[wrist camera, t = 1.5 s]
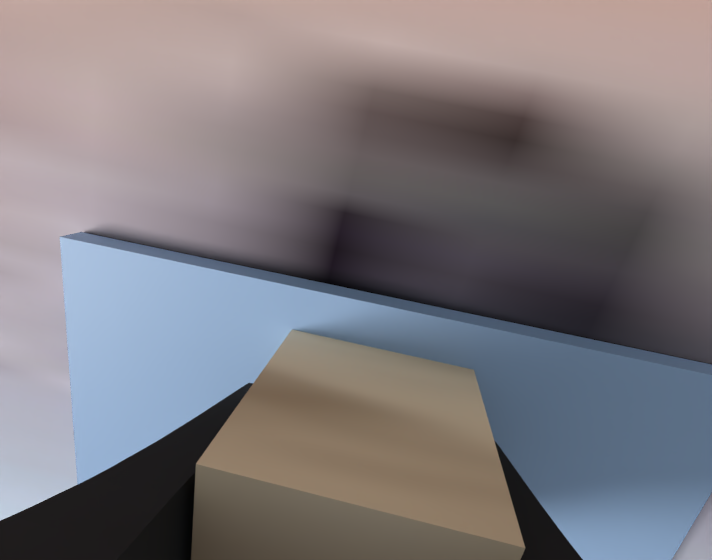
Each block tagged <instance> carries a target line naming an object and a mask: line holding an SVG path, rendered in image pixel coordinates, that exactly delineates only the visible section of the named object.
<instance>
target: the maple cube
mask: <svg viewBox="0 0 712 560" xmlns="http://www.w3.org/2000/svg"><path fill="white" fill-rule="evenodd" d="M524 550H525V545H524V542H523V538H522V535H521V531H520V528H519V524H518V521H517V517H516V514H515V511H514V507H513V504H512V500H511V497H510V493H509V490H508V486H507V483H506V479H505V476H504V472H503V469H502V466H501V462H500V459H499V455H498V452H497V448H496V445H495V441H494V438H493V434H492V431H491V427H490V424H489V421H488V417H487V414H486V410H485V407H484V403H483V400H482V396H481V393H480V389H479V386H478V382H477V379H476V375H475V372H474V370H473V369H468V368H464V367H459V366H455V365H450V364H446V363H441V362H437V361H432V360H428V359H423V358H419V357H414V356H410V355H405V354H401V353H396V352H392V351H387V350H383V349H378V348H374V347H369V346H365V345H360V344H356V343H351V342H347V341H342V340H338V339H333V338H328V337H324V336H319V335H315V334H310V333H306V332H301V331H297V330H291V331H290V333H289V334H288V335H287V337H286V338H285V340H284V341H283V343H282V344H281V345H280V347H279V348H278V350H277V351H276V352H275V354H274V355H273V357H272V358H271V359H270V361H269V362H268V364H267V365H266V366H265V368H264V369H263V371H262V372H261V373H260V375H259V376H258V378H257V379H256V380H255V382H254V383H253V385H252V386H251V387H250V389H249V390H248V392H247V393H246V394H245V396H244V397H243V399H242V400H241V401H240V403H239V404H238V406H237V407H236V408H235V410H234V411H233V413H232V414H231V415H230V417H229V418H228V420H227V421H226V422H225V424H224V425H223V427H222V428H221V429H220V431H219V432H218V434H217V435H216V436H215V438H214V439H213V441H212V442H211V443H210V445H209V446H208V448H207V449H206V450H205V452H204V453H203V455H202V456H201V457H200V459H199V460H198V462H197V463H196V472H195V491H194V511H193V531H192V551H191V560H520V559H521V557H522V555H523V552H524Z"/></svg>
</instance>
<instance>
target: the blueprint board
mask: <svg viewBox="0 0 712 560" xmlns="http://www.w3.org/2000/svg"><path fill="white" fill-rule="evenodd" d="M60 246H61V260H62V274H63V288H64V302H65V316H66V330H67V343H68V357H69V371H70V385H71V399H72V413H73V427H74V441H75V454H76V468H77V482H78V484H80V483H82V482H84V481H86V480H88V479H90V478H92V477H94V476H96V475H97V474H99V473H101V472H103V471H105V470H107V469H109V468H110V467H112V466H114V465H116V464H118V463H119V462H121V461H123V460H125V459H126V458H128V457H130V456H132V455H133V454H135V453H137V452H139V451H140V450H142V449H144V448H146V447H148V446H149V445H151V444H153V443H154V442H156V441H158V440H160V439H161V438H163V437H164V436H166V435H168V434H169V433H171V432H173V431H174V430H176V429H177V428H179V427H181V426H182V425H184V424H185V423H187V422H189V421H190V420H192V419H193V418H195V417H197V416H198V415H200V414H201V413H203V412H204V411H206V410H207V409H209V408H210V407H212V406H214V405H215V404H217V403H218V402H220V401H221V400H223V399H224V398H226V397H227V396H229V395H230V394H232V393H233V392H235V391H236V390H238V389H240V388H241V387H243V386H244V385H246V384H248V383H254V382H255V380H256V379H257V378H258V376H259V375H260V373H261V372H262V371H263V369H264V368H265V366H266V365H267V364H268V362H269V361H270V359H271V358H272V357H273V355H274V354H275V352H276V351H277V350H278V348H279V347H280V345H281V344H282V343H283V341H284V340H285V338H286V337H287V335H288V334H289V333H290V331H291V330H297V331H301V332H306V333H310V334H315V335H319V336H324V337H328V338H333V339H338V340H342V341H347V342H351V343H356V344H360V345H365V346H369V347H374V348H378V349H383V350H387V351H392V352H396V353H401V354H405V355H410V356H414V357H419V358H423V359H428V360H432V361H437V362H441V363H446V364H450V365H455V366H459V367H464V368H468V369H473V370H474V372H475V375H476V379H477V382H478V386H479V389H480V393H481V396H482V400H483V403H484V407H485V410H486V414H487V417H488V421H489V424H490V427H491V431H492V434H493V438H494V440H495V441H496V443H497V444H498V445H499V447H500V448H501V449H502V451H503V452H504V454H505V455H506V456H507V458H508V459H509V461H510V462H511V463H512V465H513V466H514V468H515V469H516V470H517V472H518V473H519V475H520V476H521V477H522V479H523V480H524V482H525V483H526V484H527V486H528V487H529V489H530V490H531V491H532V493H533V494H534V496H535V497H536V498H537V500H538V501H539V502H540V504H541V505H542V507H543V508H544V509H545V511H546V512H547V513H548V515H549V516H550V517H551V519H552V520H553V521H554V523H555V524H556V525H557V527H558V528H559V529H560V531H561V532H562V533H563V535H564V536H565V537H566V539H567V540H568V541H569V543H570V544H571V545H572V546H573V548H574V549H575V550H576V552H577V553H578V554H579V555H580V557H581V558H582V559H583V560H672V558H673V556H674V555H675V553H676V551H677V550H678V548H679V546H680V545H681V543H682V541H683V540H684V538H685V536H686V535H687V533H688V531H689V530H690V528H691V526H692V524H693V523H694V521H695V519H696V518H697V516H698V514H699V513H700V511H701V509H702V508H703V506H704V504H705V503H706V501H707V499H708V498H709V496H710V494H711V493H712V364H707V363H702V362H697V361H693V360H688V359H683V358H678V357H674V356H669V355H664V354H659V353H655V352H650V351H645V350H640V349H636V348H631V347H626V346H621V345H617V344H612V343H607V342H602V341H598V340H593V339H588V338H583V337H578V336H574V335H569V334H564V333H559V332H555V331H550V330H545V329H540V328H536V327H531V326H526V325H521V324H517V323H512V322H507V321H502V320H498V319H493V318H488V317H483V316H479V315H474V314H469V313H464V312H460V311H455V310H450V309H445V308H440V307H436V306H431V305H426V304H421V303H417V302H412V301H407V300H402V299H398V298H393V297H388V296H383V295H379V294H374V293H369V292H364V291H360V290H355V289H350V288H345V287H341V286H336V285H331V284H326V283H322V282H317V281H312V280H307V279H302V278H298V277H293V276H288V275H283V274H279V273H274V272H269V271H264V270H260V269H255V268H250V267H245V266H241V265H236V264H231V263H226V262H222V261H217V260H212V259H207V258H203V257H198V256H193V255H188V254H183V253H179V252H174V251H169V250H164V249H160V248H155V247H150V246H145V245H141V244H136V243H131V242H126V241H122V240H117V239H112V238H107V237H103V236H98V235H93V234H88V233H84V232H79V233H75V234H70V235H66V236H61V237H60Z"/></svg>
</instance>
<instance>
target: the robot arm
mask: <svg viewBox="0 0 712 560" xmlns="http://www.w3.org/2000/svg"><path fill="white" fill-rule="evenodd" d="M252 385H253V383H248V384H246V385H244V386H243V387H241V388H240V389H238V390H236V391H235V392H233V393H232V394H230V395H229V396H227V397H226V398H224V399H223V400H221V401H220V402H218V403H217V404H215V405H214V406H212V407H210V408H209V409H207V410H206V411H204V412H203V413H201V414H200V415H198V416H197V417H195V418H193V419H192V420H190V421H189V422H187V423H185V424H184V425H182V426H181V427H179V428H177V429H176V430H174V431H173V432H171V433H169V434H168V435H166V436H164V437H163V438H161V439H160V440H158V441H156V442H154V443H153V444H151V445H149V446H148V447H146V448H144V449H142V450H140V451H139V452H137V453H135V454H133V455H132V456H130V457H128V458H126V459H125V460H123V461H121V462H119V463H118V464H116V465H114V466H112V467H110V468H109V469H107V470H105V471H103V472H101V473H99V474H97V475H96V476H94V477H92V478H90V479H88V480H86V481H84V482H82V483H80V484H78V485H76V486H74V487H72V488H70V489H68V490H66V491H64V492H61V493H59V494H57V495H55V496H53V497H51V498H49V499H47V500H45V501H43V502H41V503H39V504H36V505H34V506H32V507H30V508H28V509H26V510H24V511H21V512H19V513H17V514H15V515H13V516H10V517H8V518H6V519H3V520H1V521H0V560H191V551H192V531H193V511H194V491H195V472H196V463H197V462H198V460H199V459H200V457H201V456H202V455H203V453H204V452H205V450H206V449H207V448H208V446H209V445H210V443H211V442H212V441H213V439H214V438H215V436H216V435H217V434H218V432H219V431H220V429H221V428H222V427H223V425H224V424H225V422H226V421H227V420H228V418H229V417H230V415H231V414H232V413H233V411H234V410H235V408H236V407H237V406H238V404H239V403H240V401H241V400H242V399H243V397H244V396H245V394H246V393H247V392H248V390H249V389H250V387H251V386H252ZM494 441H495V440H494ZM495 445H496V448H497V452H498V455H499V459H500V462H501V466H502V469H503V472H504V476H505V479H506V483H507V486H508V490H509V493H510V497H511V500H512V504H513V507H514V511H515V514H516V517H517V521H518V524H519V528H520V531H521V535H522V538H523V542H524V545H525V550H524V552H523V555H522V557H521V559H520V560H583V559H582V558H581V557H580V555H579V554H578V553H577V552H576V550H575V549H574V548H573V546H572V545H571V544H570V543H569V541H568V540H567V539H566V537H565V536H564V535H563V533H562V532H561V531H560V529H559V528H558V527H557V525H556V524H555V523H554V521H553V520H552V519H551V517H550V516H549V515H548V513H547V512H546V511H545V509H544V508H543V507H542V505H541V504H540V502H539V501H538V500H537V498H536V497H535V496H534V494H533V493H532V491H531V490H530V489H529V487H528V486H527V484H526V483H525V482H524V480H523V479H522V477H521V476H520V475H519V473H518V472H517V470H516V469H515V468H514V466H513V465H512V463H511V462H510V461H509V459H508V458H507V456H506V455H505V454H504V452H503V451H502V449H501V448H500V447H499V445H498V444H497V443H496V441H495Z"/></svg>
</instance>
